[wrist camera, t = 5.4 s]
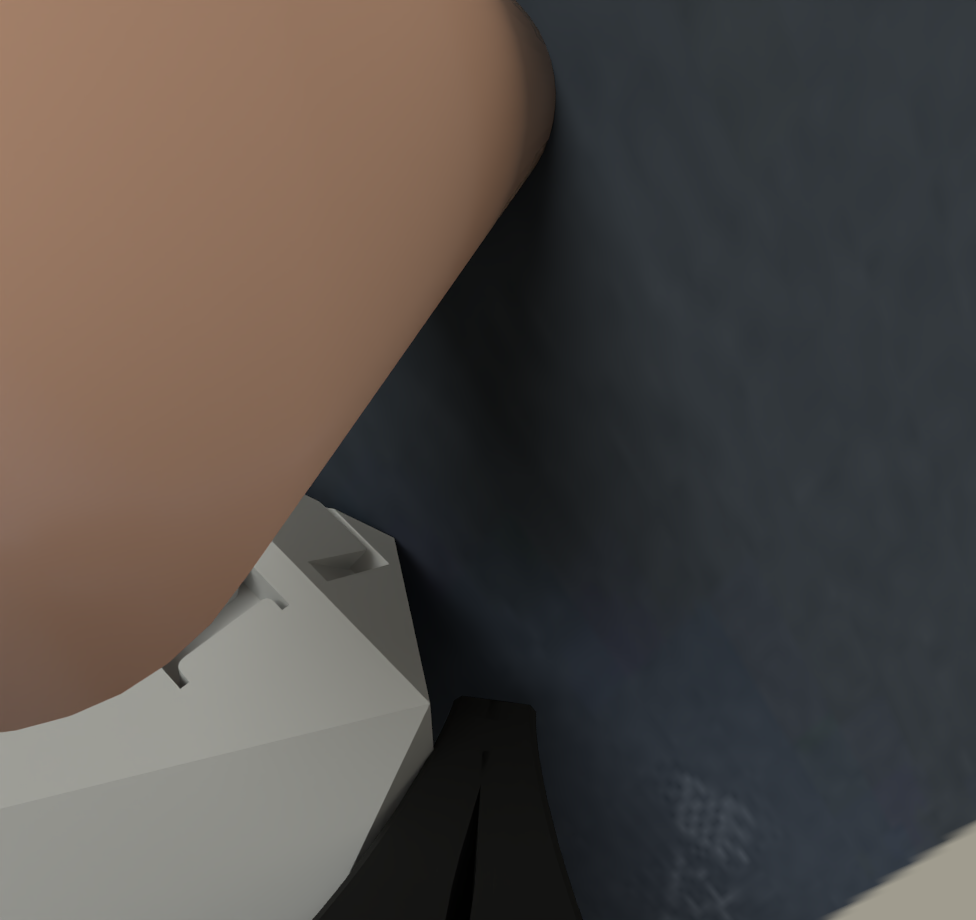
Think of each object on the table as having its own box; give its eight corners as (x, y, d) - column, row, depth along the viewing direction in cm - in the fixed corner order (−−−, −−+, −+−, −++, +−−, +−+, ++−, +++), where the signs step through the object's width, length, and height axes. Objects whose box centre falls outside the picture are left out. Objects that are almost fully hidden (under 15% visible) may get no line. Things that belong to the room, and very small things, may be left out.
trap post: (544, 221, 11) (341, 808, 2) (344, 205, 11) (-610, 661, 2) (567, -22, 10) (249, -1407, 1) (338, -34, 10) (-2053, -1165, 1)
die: (553, 684, 16) (592, 810, 6) (256, 1009, 15) (-226, 1730, 5) (288, 423, 17) (-13, 200, 8) (2, 707, 16) (-740, 855, 7)
